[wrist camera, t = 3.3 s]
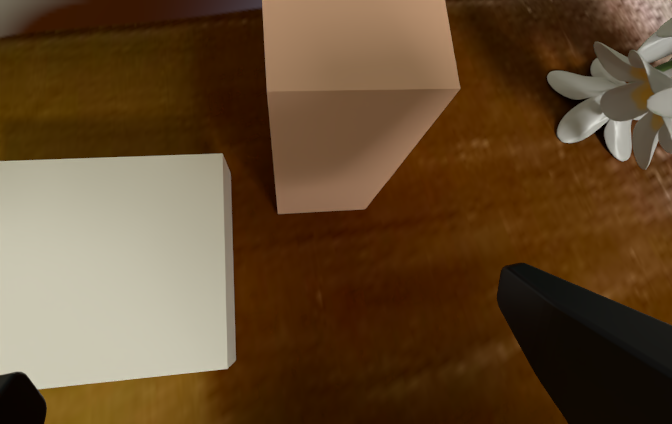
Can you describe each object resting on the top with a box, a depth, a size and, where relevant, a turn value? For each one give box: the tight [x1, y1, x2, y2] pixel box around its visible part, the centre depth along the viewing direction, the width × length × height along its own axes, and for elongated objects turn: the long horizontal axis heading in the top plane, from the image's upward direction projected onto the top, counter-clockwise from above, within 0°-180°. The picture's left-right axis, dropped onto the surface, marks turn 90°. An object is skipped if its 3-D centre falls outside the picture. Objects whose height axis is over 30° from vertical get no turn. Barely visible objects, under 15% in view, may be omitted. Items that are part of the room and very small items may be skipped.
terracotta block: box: [262, 0, 460, 214], centre depth 17 cm, size 5×5×13 cm
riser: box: [0, 153, 236, 389], centre depth 19 cm, size 10×10×3 cm
